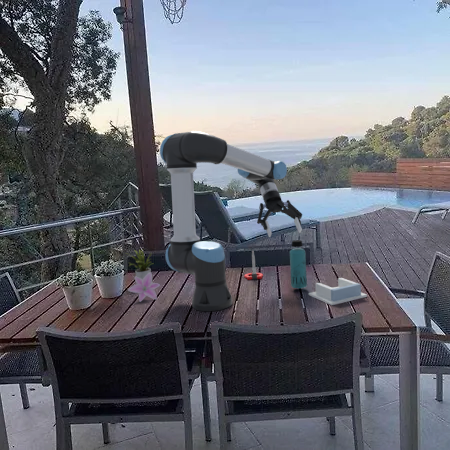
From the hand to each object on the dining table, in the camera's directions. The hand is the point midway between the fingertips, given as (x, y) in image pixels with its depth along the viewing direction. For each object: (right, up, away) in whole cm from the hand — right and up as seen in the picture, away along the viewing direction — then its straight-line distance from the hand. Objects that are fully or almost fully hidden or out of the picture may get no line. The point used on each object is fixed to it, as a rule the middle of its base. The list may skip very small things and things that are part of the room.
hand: (285, 233), depth 182 cm
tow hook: (-12, -20, +15) cm, 28 cm away
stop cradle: (+17, -23, -19) cm, 34 cm away
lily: (-58, -27, -4) cm, 64 cm away
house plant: (-64, -23, +19) cm, 71 cm away
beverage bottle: (+4, -23, -8) cm, 24 cm away
